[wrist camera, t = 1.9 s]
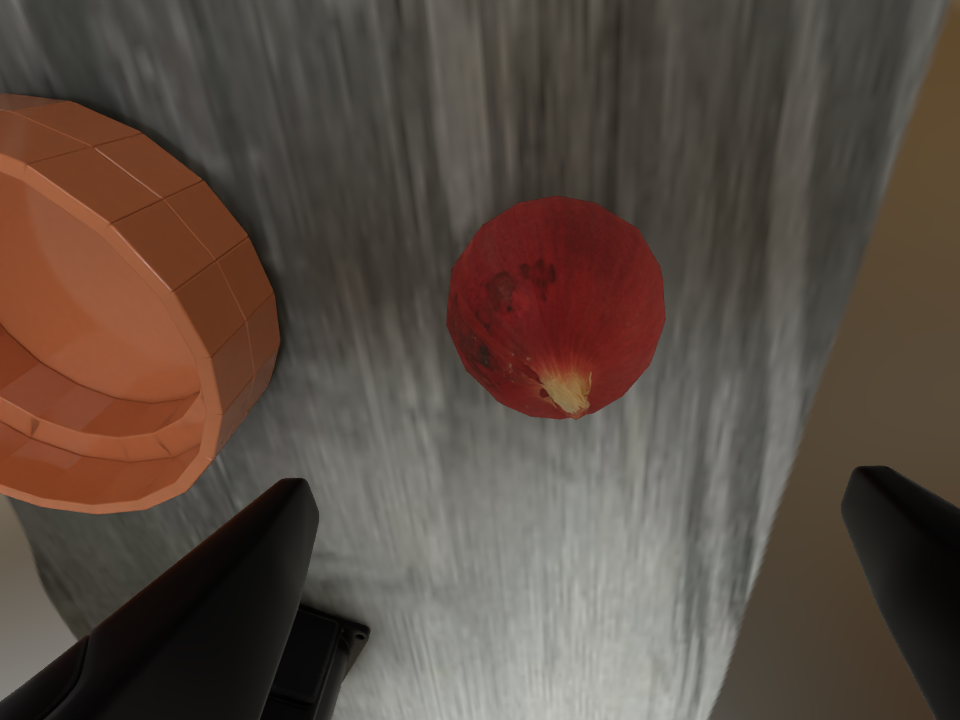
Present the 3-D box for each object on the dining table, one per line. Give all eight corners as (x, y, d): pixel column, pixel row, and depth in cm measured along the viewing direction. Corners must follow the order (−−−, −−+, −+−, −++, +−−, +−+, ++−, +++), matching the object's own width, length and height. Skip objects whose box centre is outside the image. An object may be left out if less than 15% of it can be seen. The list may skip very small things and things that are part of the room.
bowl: (252, 464, 24) (192, 557, 20) (-52, 354, 22) (-191, 431, 18) (323, 203, 17) (256, 260, 13) (-106, 13, 15) (-347, 8, 11)
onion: (455, 320, 19) (413, 480, 12) (472, 155, 16) (429, 249, 9) (614, 344, 19) (657, 516, 12) (662, 182, 16) (756, 296, 9)
